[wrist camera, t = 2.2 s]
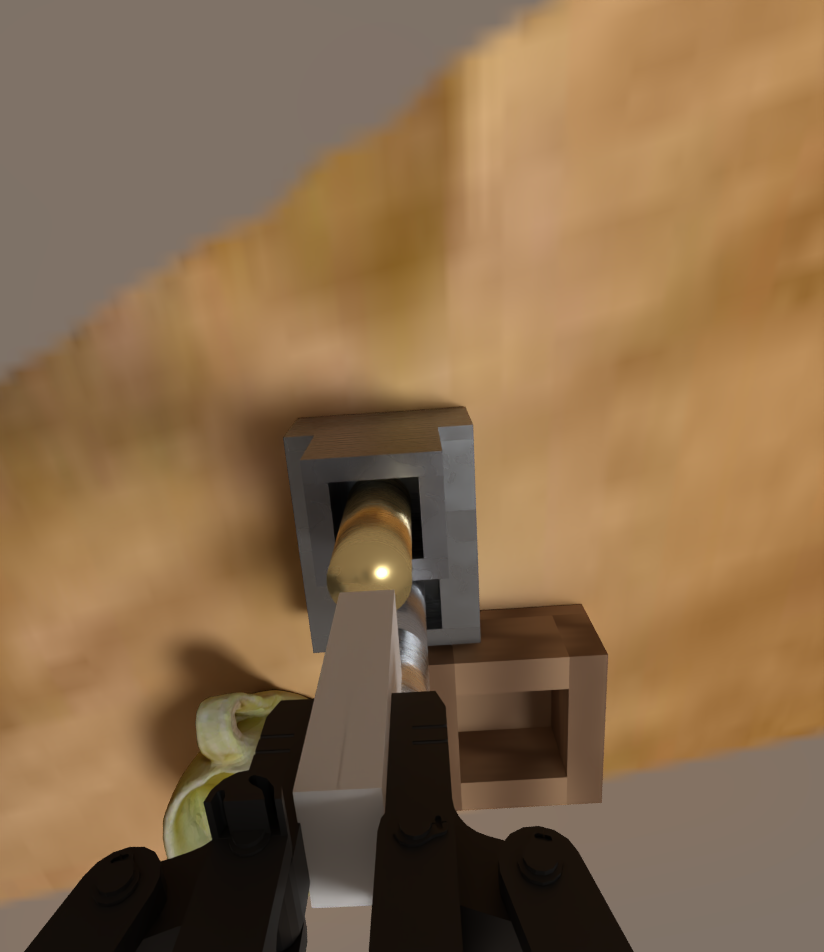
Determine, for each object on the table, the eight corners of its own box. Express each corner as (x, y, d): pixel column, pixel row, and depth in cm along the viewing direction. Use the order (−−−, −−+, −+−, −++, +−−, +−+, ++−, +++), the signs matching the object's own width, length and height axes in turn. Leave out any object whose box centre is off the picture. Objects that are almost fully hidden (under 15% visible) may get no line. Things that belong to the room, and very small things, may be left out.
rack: (425, 747, 39) (427, 812, 34) (415, 614, 36) (416, 666, 31) (578, 738, 39) (601, 802, 34) (581, 604, 36) (607, 654, 31)
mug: (381, 829, 39) (309, 966, 30) (245, 795, 42) (141, 910, 33) (381, 650, 37) (305, 735, 28) (240, 629, 41) (129, 699, 31)
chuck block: (323, 612, 36) (297, 718, 27) (297, 412, 32) (256, 463, 23) (473, 603, 36) (493, 706, 27) (465, 401, 32) (485, 447, 23)
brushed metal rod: (366, 591, 34) (339, 791, 21) (360, 538, 33) (328, 713, 20) (425, 588, 34) (435, 786, 21) (421, 534, 33) (429, 707, 20)
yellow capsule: (350, 534, 27) (331, 621, 20) (344, 475, 26) (322, 545, 19) (413, 530, 27) (414, 615, 20) (409, 471, 26) (409, 539, 19)
